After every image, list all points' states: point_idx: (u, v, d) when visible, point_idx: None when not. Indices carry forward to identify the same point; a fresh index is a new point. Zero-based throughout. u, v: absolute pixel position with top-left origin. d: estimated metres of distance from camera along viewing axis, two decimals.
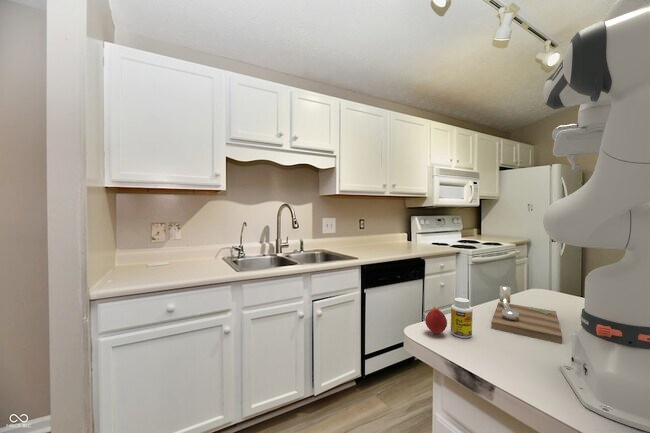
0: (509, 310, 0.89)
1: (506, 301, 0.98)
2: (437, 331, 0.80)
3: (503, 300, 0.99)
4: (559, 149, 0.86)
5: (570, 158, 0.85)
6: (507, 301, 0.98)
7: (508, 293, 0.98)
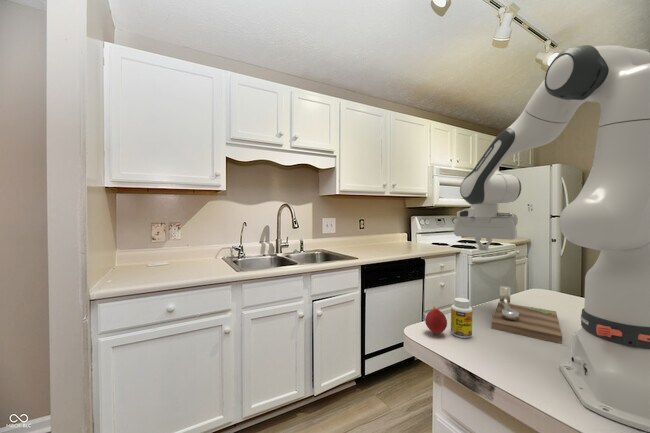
0: (509, 310, 0.89)
1: (506, 301, 0.98)
2: (437, 331, 0.80)
3: (503, 300, 0.99)
4: None
5: None
6: (507, 301, 0.98)
7: (508, 293, 0.98)
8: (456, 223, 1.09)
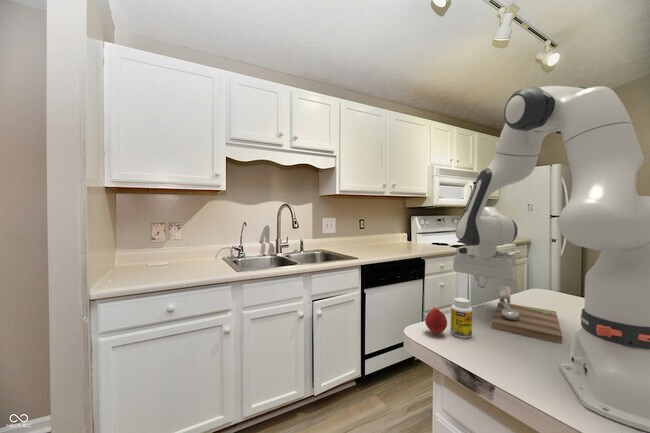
0: (509, 310, 0.89)
1: (506, 301, 0.98)
2: (437, 331, 0.80)
3: (503, 300, 0.99)
4: None
5: None
6: (507, 301, 0.98)
7: (508, 293, 0.98)
8: (455, 259, 1.09)
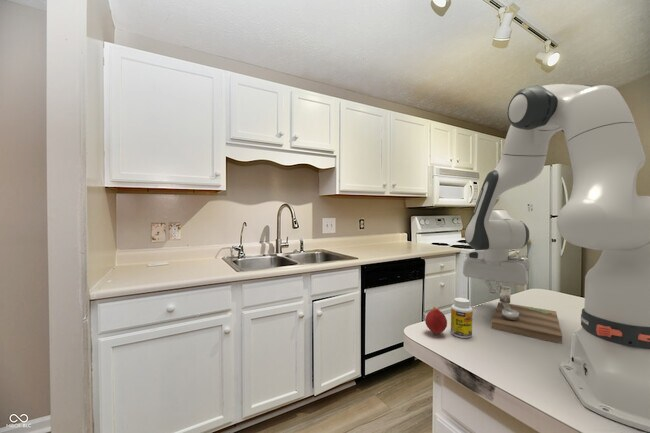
0: (509, 310, 0.89)
1: (506, 301, 0.98)
2: (437, 331, 0.80)
3: (503, 300, 0.99)
4: None
5: None
6: (507, 301, 0.98)
7: (508, 293, 0.98)
8: (465, 264, 1.07)
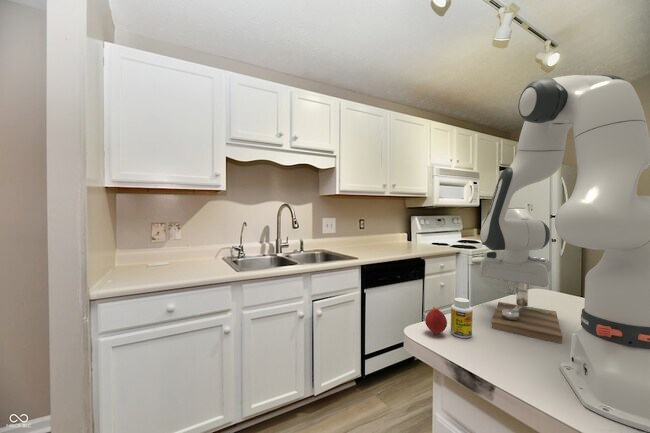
0: (510, 310, 0.89)
1: (521, 304, 0.96)
2: (437, 331, 0.80)
3: (518, 302, 0.96)
4: None
5: None
6: (522, 304, 0.96)
7: (524, 296, 0.95)
8: (482, 263, 1.03)
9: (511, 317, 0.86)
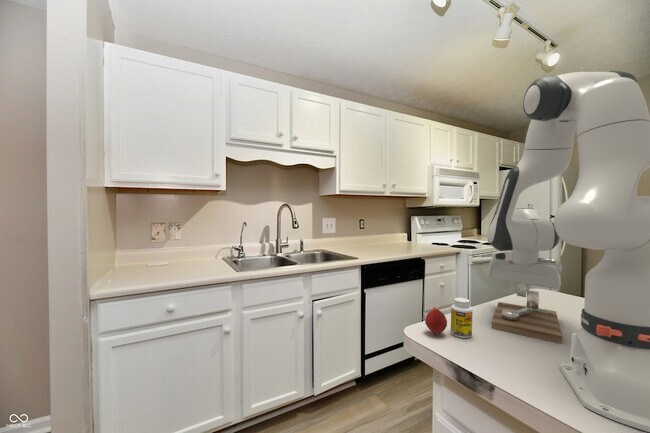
0: (511, 310, 0.89)
1: (531, 306, 0.93)
2: (437, 331, 0.80)
3: (528, 305, 0.94)
4: None
5: None
6: (532, 306, 0.93)
7: (533, 298, 0.93)
8: (491, 265, 1.01)
9: (509, 317, 0.87)
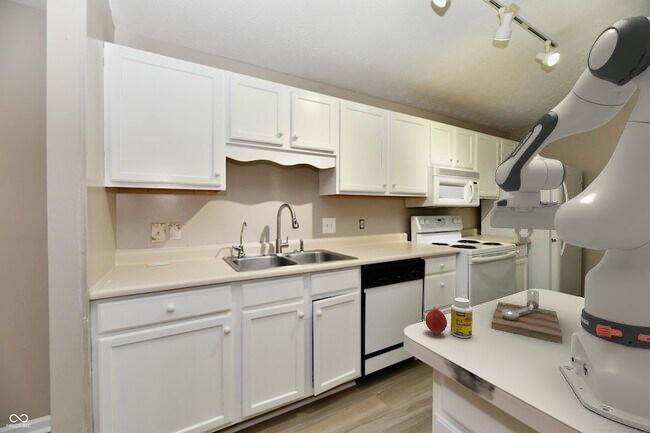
0: (511, 310, 0.89)
1: (531, 306, 0.93)
2: (437, 331, 0.80)
3: (528, 305, 0.94)
4: None
5: None
6: (532, 306, 0.93)
7: (533, 298, 0.93)
8: (493, 214, 1.01)
9: (509, 317, 0.87)
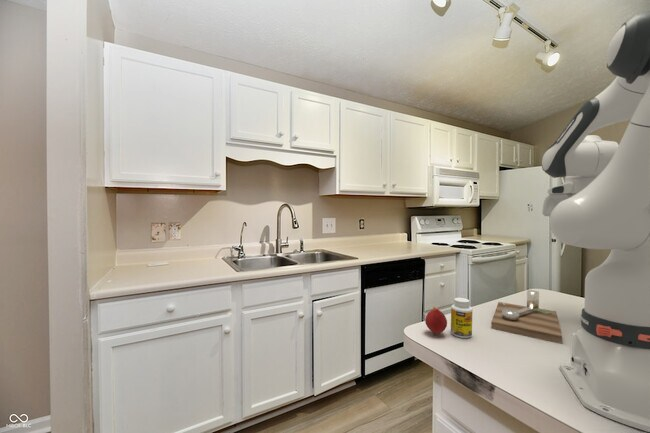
0: (511, 310, 0.89)
1: (531, 306, 0.93)
2: (437, 331, 0.80)
3: (528, 305, 0.94)
4: None
5: None
6: (532, 306, 0.93)
7: (533, 298, 0.93)
8: (546, 201, 0.96)
9: (509, 317, 0.87)
